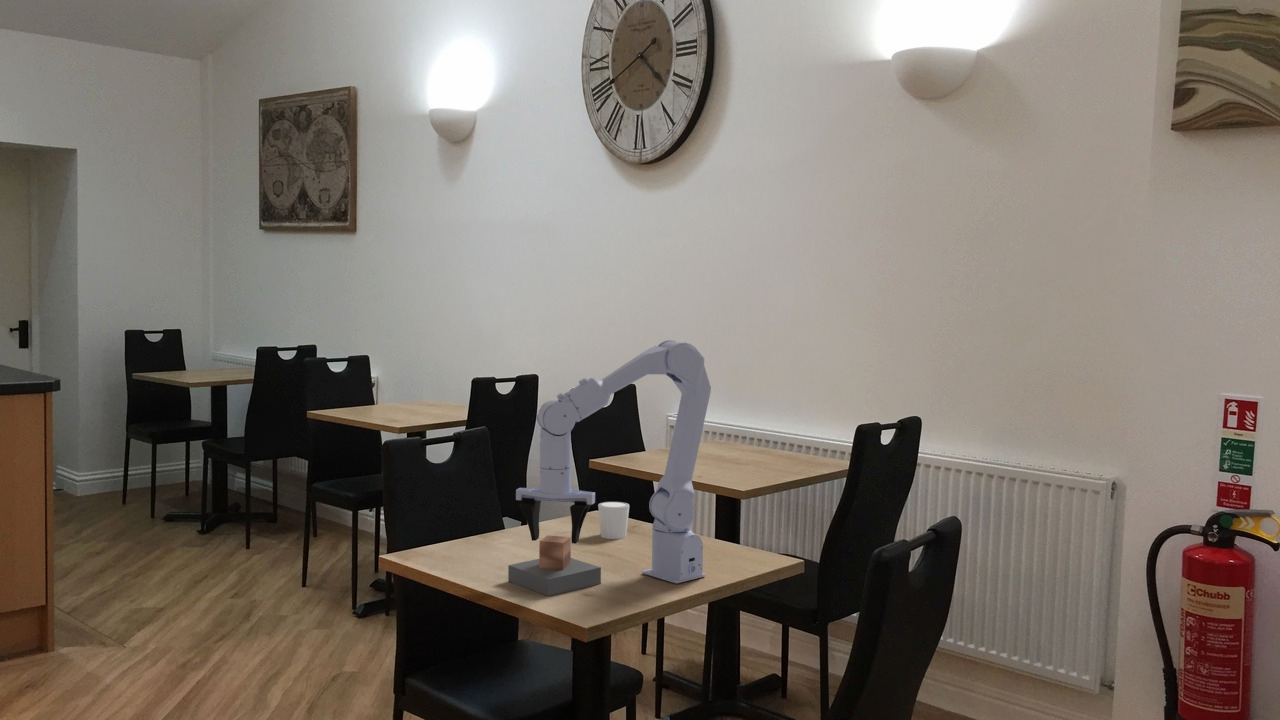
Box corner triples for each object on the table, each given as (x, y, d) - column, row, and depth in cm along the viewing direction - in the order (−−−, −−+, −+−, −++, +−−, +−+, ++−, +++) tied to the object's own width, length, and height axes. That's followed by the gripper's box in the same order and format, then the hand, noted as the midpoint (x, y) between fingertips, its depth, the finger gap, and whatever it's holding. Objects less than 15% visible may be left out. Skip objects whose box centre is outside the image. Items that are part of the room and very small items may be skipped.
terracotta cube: (570, 563, 191) (570, 537, 190) (563, 570, 186) (563, 542, 186) (547, 561, 192) (547, 535, 191) (539, 568, 187) (539, 541, 187)
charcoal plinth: (600, 583, 189) (600, 567, 188) (548, 596, 180) (548, 579, 180) (559, 569, 197) (559, 554, 197) (508, 581, 189) (508, 565, 189)
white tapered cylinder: (630, 532, 228) (631, 501, 228) (627, 540, 221) (627, 508, 221) (599, 531, 229) (600, 500, 228) (595, 539, 222) (595, 507, 222)
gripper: (599, 465, 190) (599, 538, 190) (525, 461, 193) (525, 533, 194) (589, 471, 183) (588, 547, 184) (511, 467, 186) (511, 542, 187)
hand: (555, 540), depth 188 cm, fingers open, 7 cm apart
